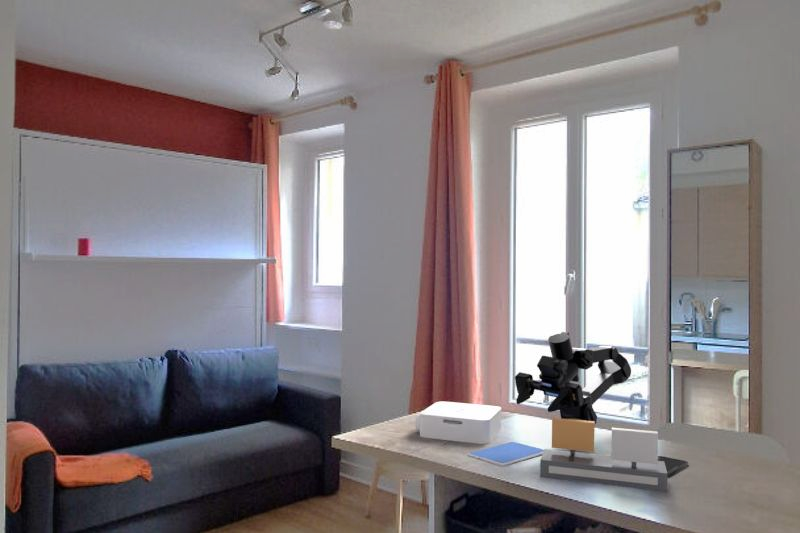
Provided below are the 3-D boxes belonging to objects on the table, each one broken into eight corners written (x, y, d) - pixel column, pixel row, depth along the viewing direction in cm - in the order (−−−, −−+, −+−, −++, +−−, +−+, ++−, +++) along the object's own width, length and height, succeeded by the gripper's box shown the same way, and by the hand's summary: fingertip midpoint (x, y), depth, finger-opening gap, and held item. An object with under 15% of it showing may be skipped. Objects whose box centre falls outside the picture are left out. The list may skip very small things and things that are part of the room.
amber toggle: (552, 449, 161) (552, 417, 161) (594, 454, 158) (594, 421, 158) (551, 451, 159) (552, 419, 159) (593, 456, 156) (594, 423, 156)
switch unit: (544, 464, 163) (544, 448, 163) (663, 478, 154) (664, 460, 154) (539, 476, 153) (540, 459, 153) (667, 491, 144) (667, 473, 144)
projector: (433, 421, 209) (433, 400, 209) (502, 428, 201) (502, 406, 201) (412, 437, 189) (413, 413, 189) (488, 445, 181) (488, 420, 181)
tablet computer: (503, 468, 161) (503, 463, 161) (465, 457, 170) (465, 452, 170) (549, 455, 174) (549, 450, 174) (511, 445, 183) (512, 440, 183)
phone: (636, 467, 160) (658, 455, 171) (636, 472, 160) (658, 459, 171) (668, 474, 154) (689, 461, 165) (668, 479, 154) (689, 466, 165)
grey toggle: (611, 461, 152) (611, 427, 152) (656, 466, 148) (657, 431, 149) (611, 463, 150) (611, 429, 150) (657, 468, 147) (657, 433, 147)
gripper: (526, 344, 180) (496, 373, 169) (589, 355, 167) (561, 386, 157) (532, 379, 183) (503, 408, 173) (594, 392, 171) (567, 424, 161)
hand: (532, 406), depth 166 cm, fingers open, 9 cm apart
